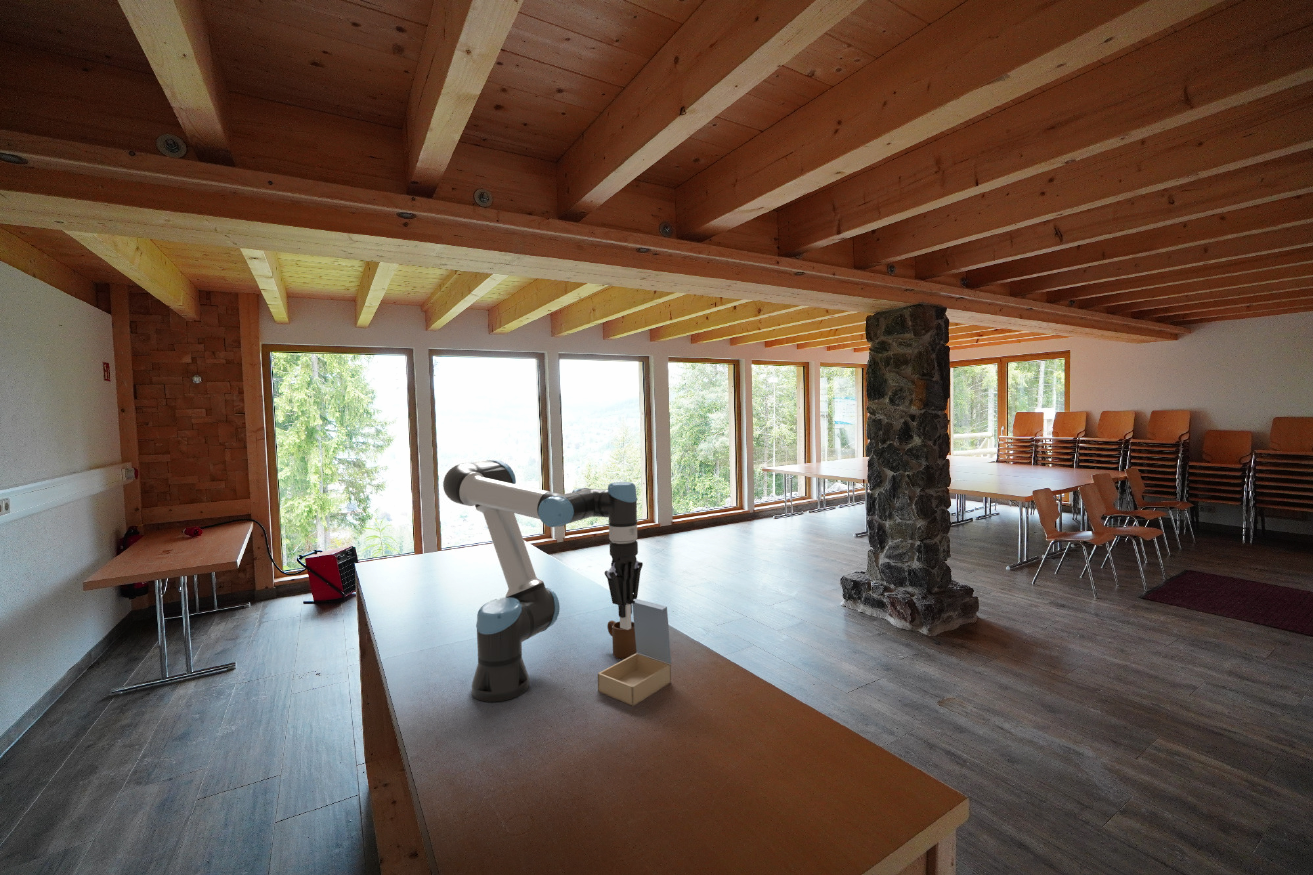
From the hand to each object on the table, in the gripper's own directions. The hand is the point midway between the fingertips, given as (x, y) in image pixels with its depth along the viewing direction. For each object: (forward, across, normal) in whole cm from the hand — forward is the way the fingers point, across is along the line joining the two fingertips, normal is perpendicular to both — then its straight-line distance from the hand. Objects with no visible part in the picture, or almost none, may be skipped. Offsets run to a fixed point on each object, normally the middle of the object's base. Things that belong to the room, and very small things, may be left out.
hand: (625, 627), depth 147 cm
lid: (+4, +9, 0) cm, 10 cm away
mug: (+18, +18, +19) cm, 31 cm away
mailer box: (+18, +4, 0) cm, 18 cm away
